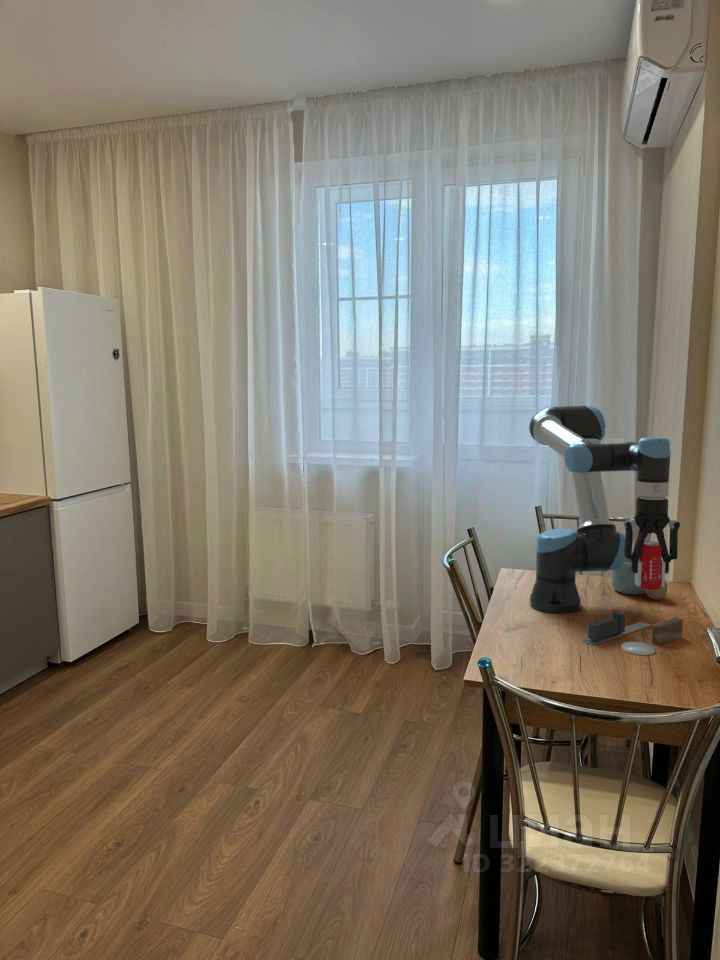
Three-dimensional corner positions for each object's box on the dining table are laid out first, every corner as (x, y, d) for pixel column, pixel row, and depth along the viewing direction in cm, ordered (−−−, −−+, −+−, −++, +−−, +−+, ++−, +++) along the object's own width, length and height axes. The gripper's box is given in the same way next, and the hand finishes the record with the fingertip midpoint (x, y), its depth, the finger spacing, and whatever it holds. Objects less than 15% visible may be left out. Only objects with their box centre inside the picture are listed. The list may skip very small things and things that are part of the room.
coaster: (614, 647, 172) (614, 646, 171) (634, 641, 176) (634, 639, 176) (642, 657, 165) (642, 656, 165) (661, 650, 169) (662, 649, 169)
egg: (671, 600, 208) (672, 575, 207) (657, 603, 205) (658, 577, 204) (654, 595, 214) (655, 570, 213) (640, 598, 211) (641, 573, 210)
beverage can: (654, 592, 171) (655, 546, 169) (635, 587, 175) (636, 543, 173) (664, 588, 174) (665, 543, 172) (644, 584, 178) (646, 540, 176)
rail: (581, 641, 176) (581, 640, 176) (641, 622, 189) (641, 621, 189) (591, 645, 173) (591, 644, 173) (651, 625, 186) (651, 624, 186)
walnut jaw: (652, 643, 174) (652, 624, 173) (675, 635, 179) (675, 617, 179) (659, 645, 172) (659, 627, 172) (682, 637, 178) (682, 619, 177)
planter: (603, 586, 224) (604, 555, 222) (638, 584, 225) (639, 553, 224) (621, 597, 212) (622, 564, 210) (658, 595, 213) (659, 562, 211)
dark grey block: (587, 637, 177) (587, 619, 176) (616, 628, 183) (617, 610, 182) (595, 640, 175) (596, 621, 174) (624, 631, 181) (625, 613, 180)
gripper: (619, 499, 169) (617, 588, 172) (695, 499, 166) (691, 589, 169) (612, 495, 176) (609, 580, 179) (684, 495, 174) (681, 581, 177)
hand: (649, 584), depth 174 cm, fingers closed on beverage can, 5 cm apart
